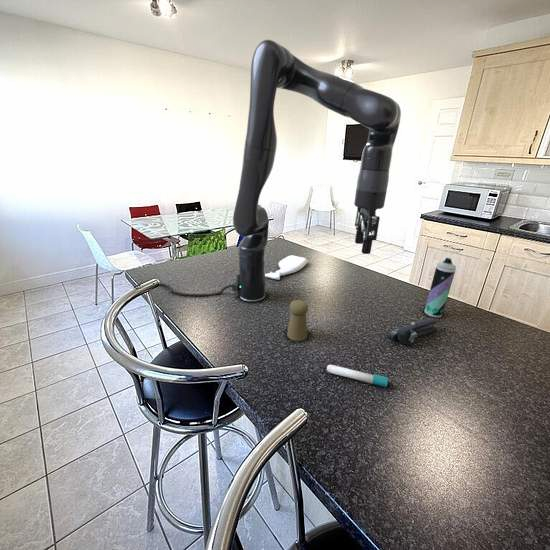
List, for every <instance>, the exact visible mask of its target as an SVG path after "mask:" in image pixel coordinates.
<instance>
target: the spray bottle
mask: <svg viewBox="0 0 550 550" xmlns="http://www.w3.org/2000/svg"><path fill="white" fill-rule="evenodd" d="M307 264H308V260H307V258H306V257H302V256H297V255H293V254H291V255H288V256H286V257H284V258H282V259H281V260H280V261H279V262H278V267H279V269H278V270H276V271H275V272H272V271H270V272H269V273H265V278H269V279H273V280H279V281H280V280H281V277H283V276H287V275H290V274H294V273H296V272H298V271H300V270H302V268H304V267H306V265H307Z"/></svg>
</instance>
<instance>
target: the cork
mask: <svg viewBox="0 0 550 550" xmlns="http://www.w3.org/2000/svg"><path fill="white" fill-rule="evenodd" d="M289 311H290V318H289V321H288V322H289V323H288V326H287V333H286V336H287V338H288V339H289V340H290V341H291V340H292V341H295V342H301V341H305V340H306V339H307V338H308V327H307V313H308V311H309V305H308V303H307V302H306V301H305V300H302V299H296V300H293V301H292V302H290V304H289Z"/></svg>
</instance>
